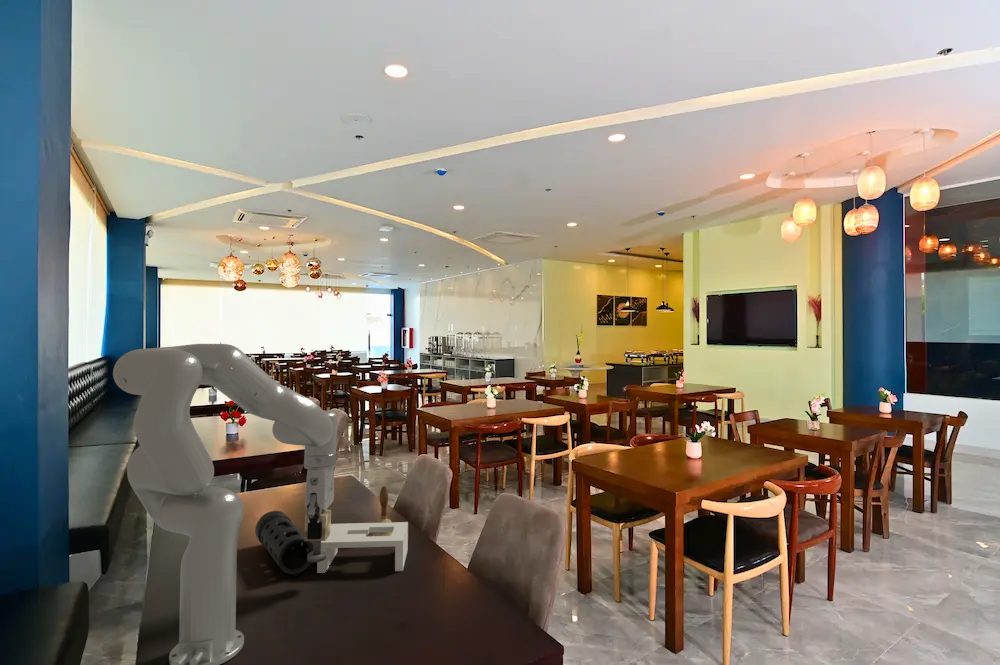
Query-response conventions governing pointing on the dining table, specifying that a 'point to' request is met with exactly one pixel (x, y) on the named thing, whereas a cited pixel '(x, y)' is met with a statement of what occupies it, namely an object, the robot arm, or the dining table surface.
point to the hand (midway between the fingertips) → (317, 534)
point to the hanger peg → (317, 553)
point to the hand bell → (383, 511)
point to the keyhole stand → (365, 540)
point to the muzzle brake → (284, 542)
